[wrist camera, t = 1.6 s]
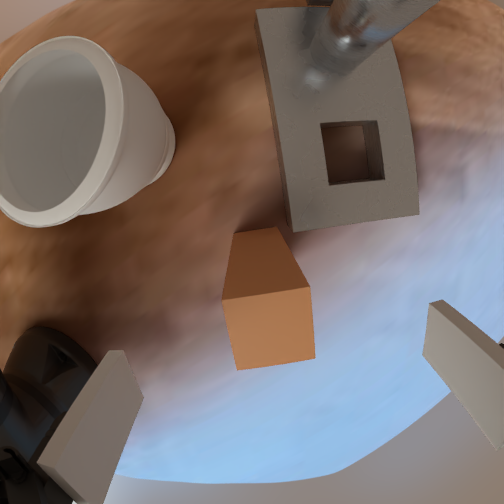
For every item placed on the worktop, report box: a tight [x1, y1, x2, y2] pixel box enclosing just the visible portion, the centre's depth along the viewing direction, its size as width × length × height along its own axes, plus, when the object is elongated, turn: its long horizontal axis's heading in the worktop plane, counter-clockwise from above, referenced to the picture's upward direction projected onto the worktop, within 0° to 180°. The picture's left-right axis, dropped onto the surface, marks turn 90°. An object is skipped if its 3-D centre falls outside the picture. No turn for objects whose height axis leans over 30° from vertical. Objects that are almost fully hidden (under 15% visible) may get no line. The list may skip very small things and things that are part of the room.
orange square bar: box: [222, 227, 315, 370], centre depth 21 cm, size 4×4×15 cm
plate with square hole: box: [255, 0, 440, 232], centre depth 16 cm, size 12×22×18 cm, turn 9°
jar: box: [0, 36, 175, 228], centre depth 18 cm, size 11×10×15 cm
